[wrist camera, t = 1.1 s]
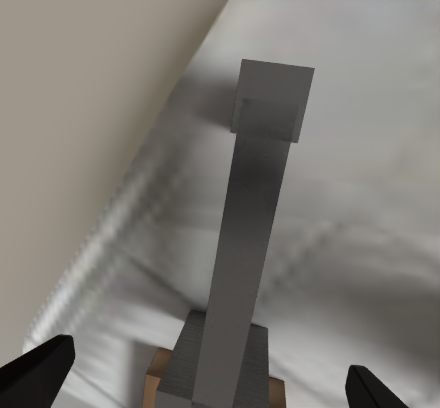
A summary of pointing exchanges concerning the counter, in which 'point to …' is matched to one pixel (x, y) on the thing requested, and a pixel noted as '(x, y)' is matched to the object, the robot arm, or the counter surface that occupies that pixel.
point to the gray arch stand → (240, 250)
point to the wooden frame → (159, 364)
